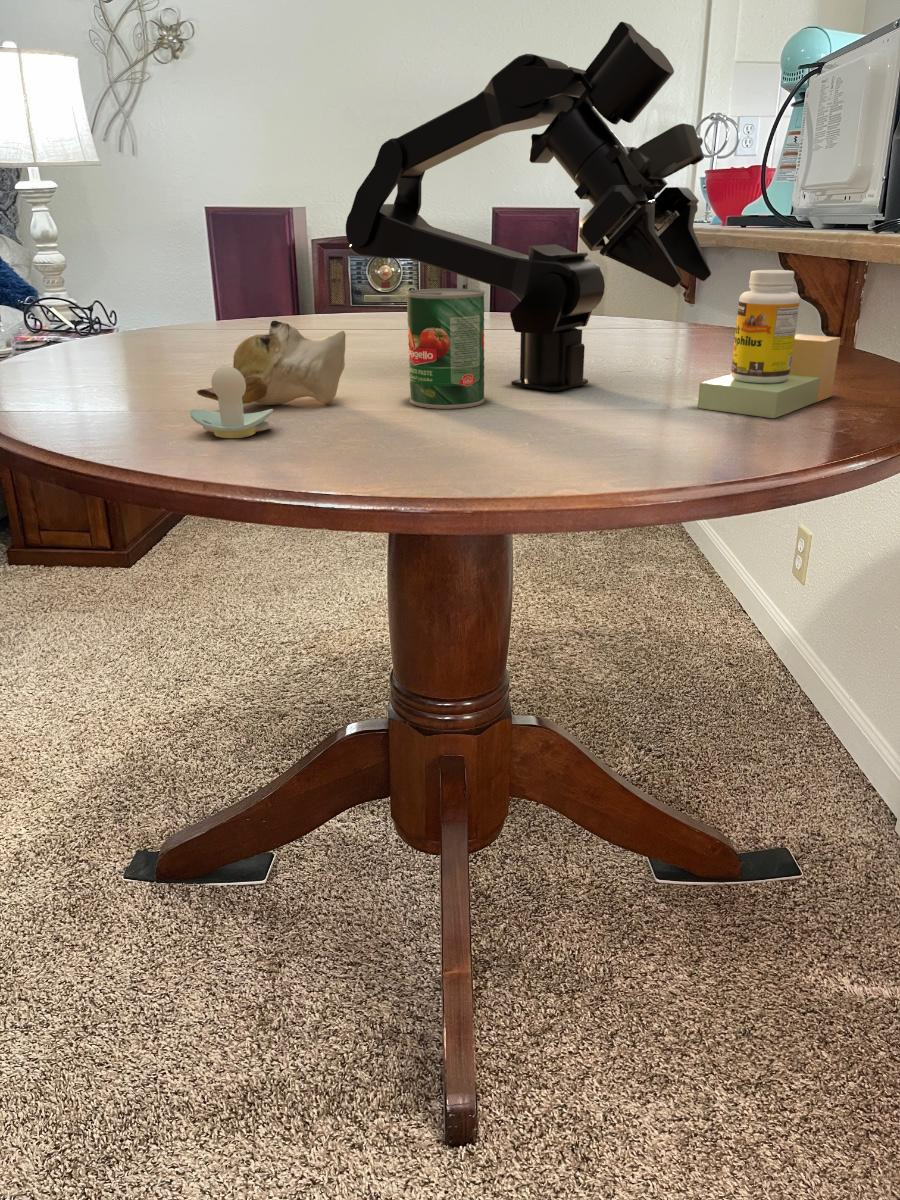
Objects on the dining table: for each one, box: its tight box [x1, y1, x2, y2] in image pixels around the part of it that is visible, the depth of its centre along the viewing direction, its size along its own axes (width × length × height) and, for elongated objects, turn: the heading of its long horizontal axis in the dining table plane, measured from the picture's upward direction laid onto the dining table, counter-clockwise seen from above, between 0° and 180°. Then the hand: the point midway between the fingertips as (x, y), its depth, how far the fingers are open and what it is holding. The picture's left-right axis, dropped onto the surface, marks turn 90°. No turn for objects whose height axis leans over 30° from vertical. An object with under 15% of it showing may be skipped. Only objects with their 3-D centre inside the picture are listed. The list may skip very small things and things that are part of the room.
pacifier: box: [189, 365, 274, 439], centre depth 80 cm, size 7×6×6 cm
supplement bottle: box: [730, 269, 801, 384], centre depth 87 cm, size 6×6×10 cm
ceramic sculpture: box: [196, 320, 347, 406], centre depth 92 cm, size 11×9×15 cm
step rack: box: [697, 333, 841, 419], centre depth 90 cm, size 8×14×6 cm, turn 138°
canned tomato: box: [405, 287, 486, 410], centre depth 91 cm, size 8×8×11 cm
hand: (693, 280), depth 89 cm, fingers open, 9 cm apart
